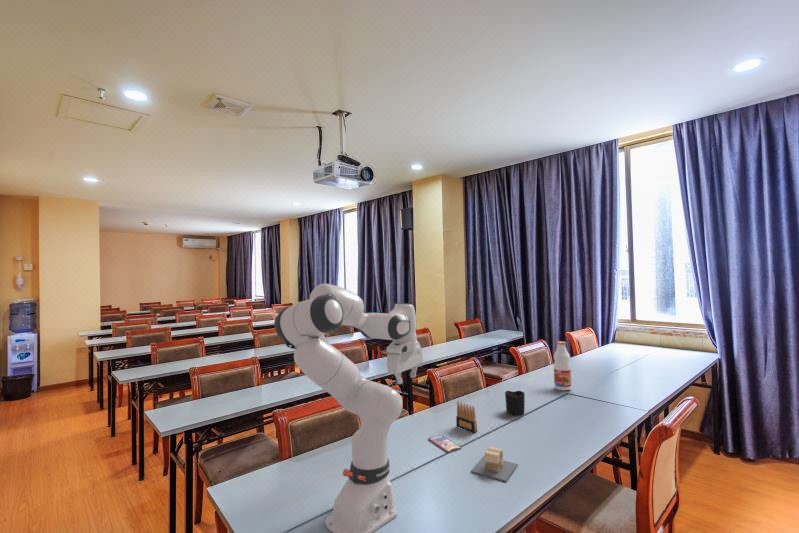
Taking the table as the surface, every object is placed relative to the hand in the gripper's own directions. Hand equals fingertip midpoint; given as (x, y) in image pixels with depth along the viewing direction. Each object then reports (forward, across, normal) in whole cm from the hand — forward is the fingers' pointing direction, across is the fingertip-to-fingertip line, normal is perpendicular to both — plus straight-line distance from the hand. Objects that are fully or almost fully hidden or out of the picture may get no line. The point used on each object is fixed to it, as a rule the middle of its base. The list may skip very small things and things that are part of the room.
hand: (406, 380), depth 148 cm
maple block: (+30, -11, +30) cm, 44 cm away
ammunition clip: (+31, -38, +7) cm, 50 cm away
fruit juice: (+32, -120, +33) cm, 128 cm away
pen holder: (+31, -69, +20) cm, 78 cm away
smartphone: (+32, -20, +5) cm, 38 cm away
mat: (+31, -11, +30) cm, 45 cm away
